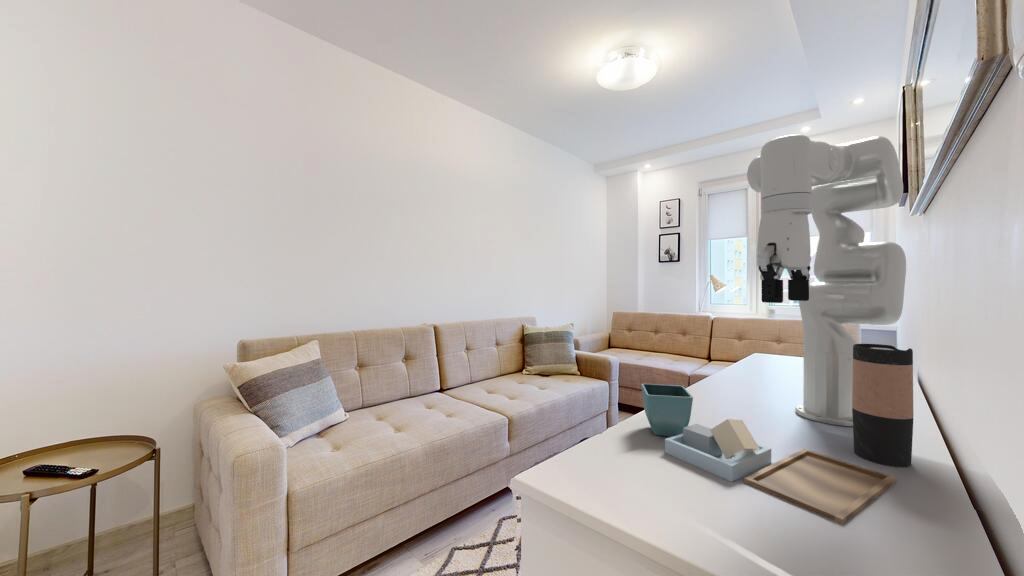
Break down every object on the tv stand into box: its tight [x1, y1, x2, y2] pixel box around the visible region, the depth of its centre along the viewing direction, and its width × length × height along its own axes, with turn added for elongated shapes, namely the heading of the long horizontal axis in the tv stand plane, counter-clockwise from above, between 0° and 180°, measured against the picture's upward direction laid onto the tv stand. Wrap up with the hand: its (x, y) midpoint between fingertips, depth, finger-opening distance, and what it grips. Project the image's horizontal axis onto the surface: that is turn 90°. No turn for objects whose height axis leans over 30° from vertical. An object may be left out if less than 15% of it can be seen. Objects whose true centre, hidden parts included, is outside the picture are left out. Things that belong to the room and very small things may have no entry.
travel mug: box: [852, 343, 914, 469], centre depth 66 cm, size 8×8×20 cm
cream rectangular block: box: [710, 418, 760, 459], centre depth 64 cm, size 4×4×5 cm
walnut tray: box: [743, 448, 897, 525], centre depth 58 cm, size 20×12×1 cm, turn 121°
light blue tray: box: [664, 433, 772, 483], centre depth 66 cm, size 12×12×3 cm
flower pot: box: [640, 383, 694, 437], centre depth 79 cm, size 9×9×9 cm
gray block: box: [683, 423, 723, 457], centre depth 68 cm, size 4×4×5 cm
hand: (785, 301), depth 69 cm, fingers open, 9 cm apart
